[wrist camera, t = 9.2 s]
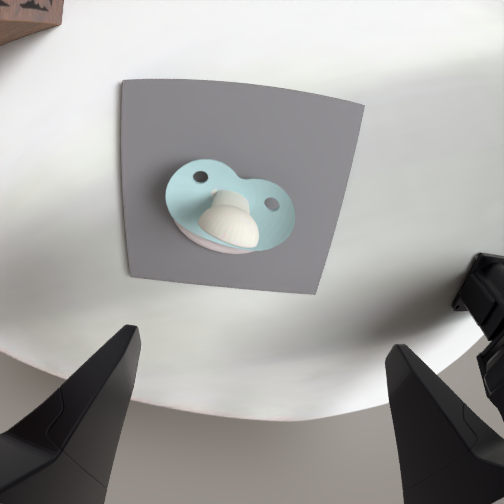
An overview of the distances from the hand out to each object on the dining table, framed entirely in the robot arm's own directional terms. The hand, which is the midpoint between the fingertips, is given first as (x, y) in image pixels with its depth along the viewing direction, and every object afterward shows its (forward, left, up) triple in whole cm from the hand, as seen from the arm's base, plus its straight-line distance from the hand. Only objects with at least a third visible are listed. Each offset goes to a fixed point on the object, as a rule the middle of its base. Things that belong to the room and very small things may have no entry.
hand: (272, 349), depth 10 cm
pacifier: (+2, 0, -11) cm, 11 cm away
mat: (+2, 0, -12) cm, 12 cm away
